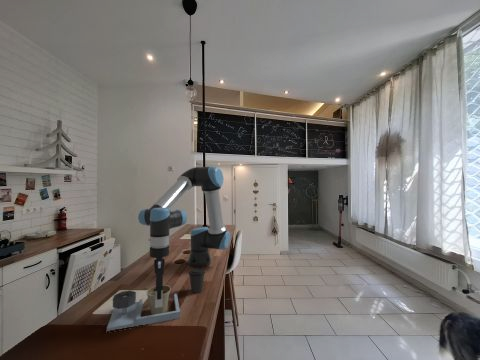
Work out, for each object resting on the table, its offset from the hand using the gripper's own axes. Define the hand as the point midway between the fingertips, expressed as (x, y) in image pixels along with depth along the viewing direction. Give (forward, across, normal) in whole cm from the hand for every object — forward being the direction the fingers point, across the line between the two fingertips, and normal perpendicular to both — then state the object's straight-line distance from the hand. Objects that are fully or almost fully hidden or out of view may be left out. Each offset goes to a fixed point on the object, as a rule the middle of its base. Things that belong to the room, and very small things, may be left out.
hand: (158, 298), depth 91 cm
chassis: (+5, 0, -4) cm, 7 cm away
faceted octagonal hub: (0, 0, -13) cm, 13 cm away
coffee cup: (+5, -13, +18) cm, 22 cm away
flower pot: (+6, 0, 0) cm, 6 cm away
